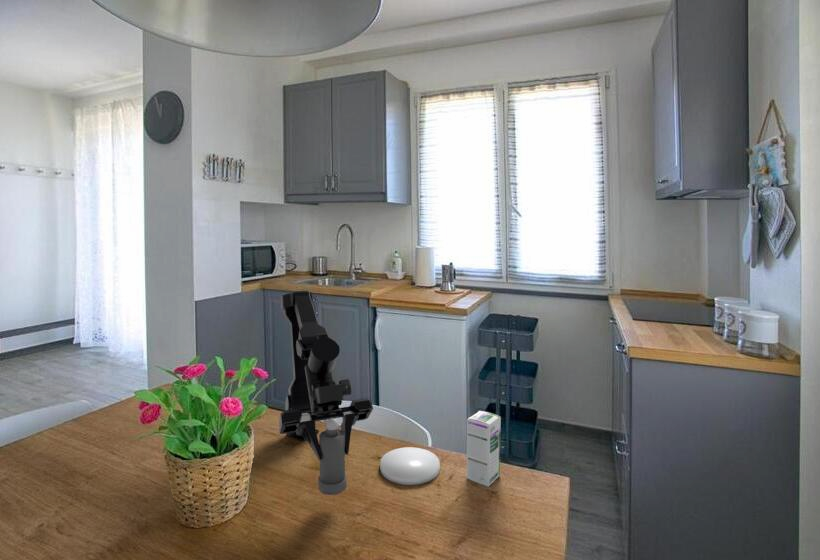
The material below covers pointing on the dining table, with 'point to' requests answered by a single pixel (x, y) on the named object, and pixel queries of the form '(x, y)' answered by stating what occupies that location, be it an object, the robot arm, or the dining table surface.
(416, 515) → the dining table surface
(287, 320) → the robot arm
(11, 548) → the dining table surface
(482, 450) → the syrup box
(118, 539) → the dining table surface
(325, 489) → the pepper mill
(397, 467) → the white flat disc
